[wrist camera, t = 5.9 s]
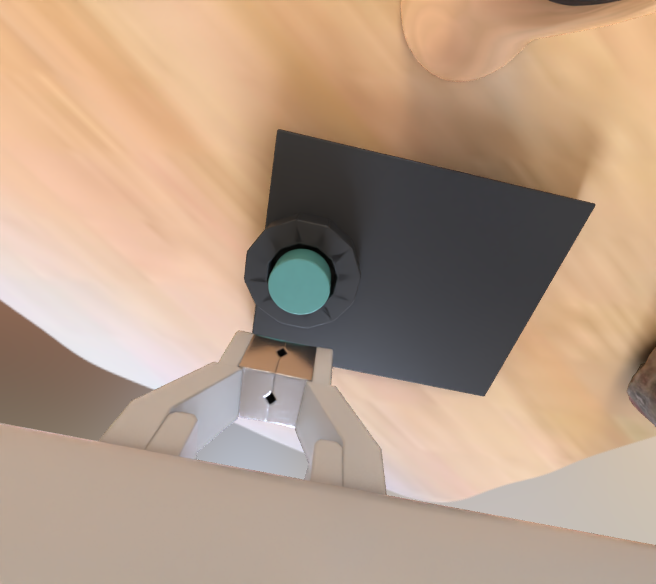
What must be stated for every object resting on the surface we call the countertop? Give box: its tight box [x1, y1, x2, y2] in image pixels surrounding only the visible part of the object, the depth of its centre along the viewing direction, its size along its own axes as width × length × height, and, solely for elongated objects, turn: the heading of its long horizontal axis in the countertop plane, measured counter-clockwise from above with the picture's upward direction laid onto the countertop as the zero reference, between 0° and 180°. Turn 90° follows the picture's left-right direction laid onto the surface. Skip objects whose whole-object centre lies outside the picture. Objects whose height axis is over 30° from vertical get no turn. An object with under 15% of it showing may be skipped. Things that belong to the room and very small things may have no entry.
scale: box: [244, 129, 595, 396], centre depth 17 cm, size 16×13×3 cm
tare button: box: [268, 249, 331, 315], centre depth 15 cm, size 3×3×2 cm
